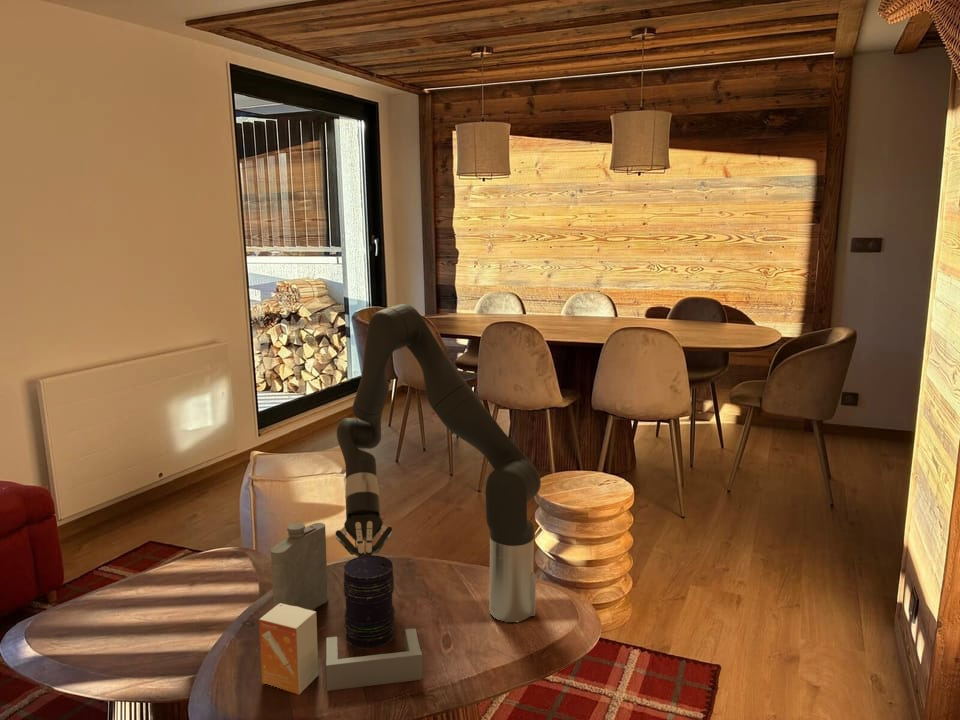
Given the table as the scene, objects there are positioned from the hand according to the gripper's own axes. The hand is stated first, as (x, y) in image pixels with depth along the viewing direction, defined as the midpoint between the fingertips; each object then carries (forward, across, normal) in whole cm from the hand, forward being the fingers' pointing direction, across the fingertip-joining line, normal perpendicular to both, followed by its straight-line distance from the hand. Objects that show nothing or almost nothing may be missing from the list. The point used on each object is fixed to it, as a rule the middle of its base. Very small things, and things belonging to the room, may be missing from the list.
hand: (365, 572), depth 156 cm
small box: (+22, -15, -11) cm, 29 cm away
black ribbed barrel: (+14, 0, -2) cm, 14 cm away
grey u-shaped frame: (+22, 0, -10) cm, 24 cm away
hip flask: (+6, -14, +6) cm, 16 cm away
